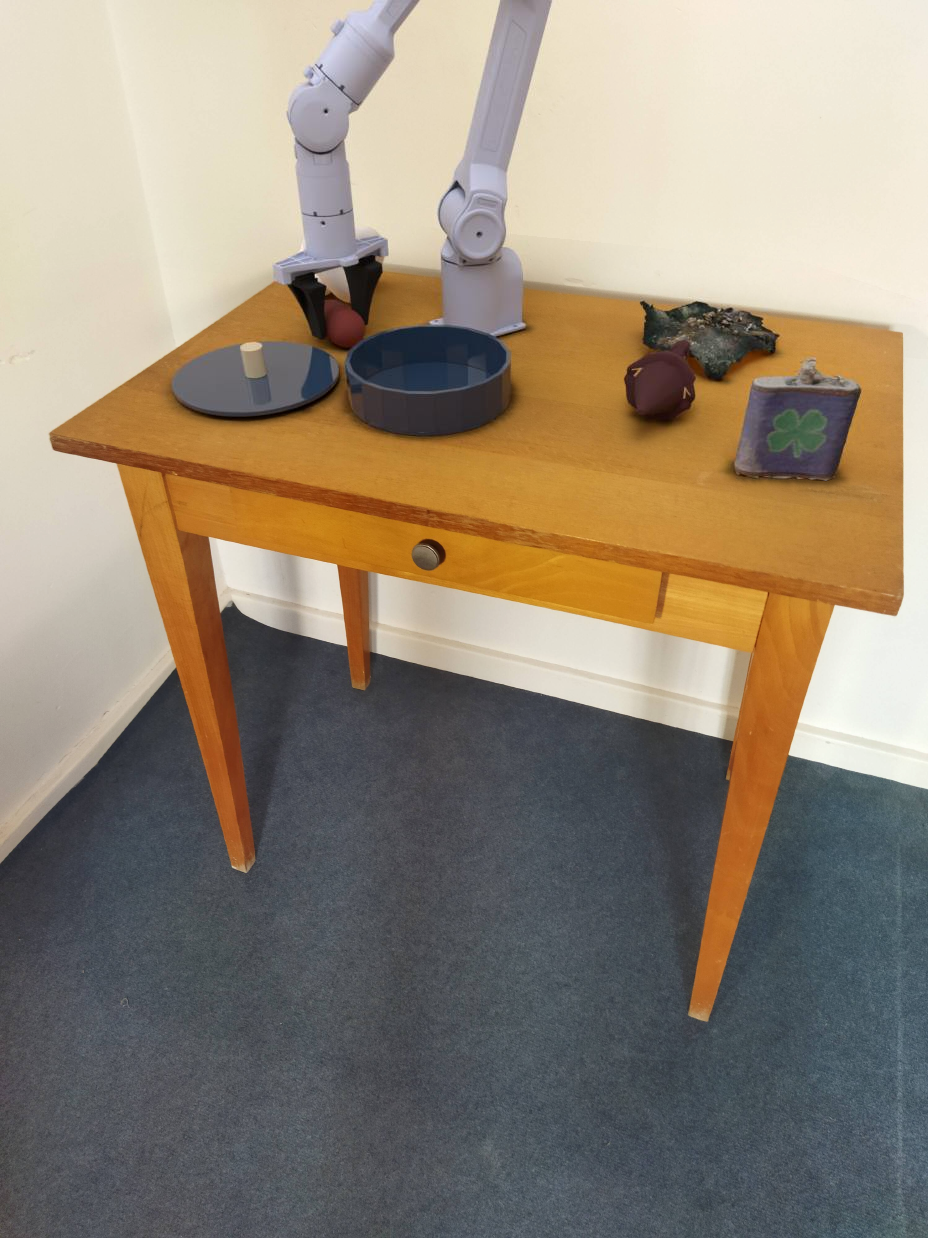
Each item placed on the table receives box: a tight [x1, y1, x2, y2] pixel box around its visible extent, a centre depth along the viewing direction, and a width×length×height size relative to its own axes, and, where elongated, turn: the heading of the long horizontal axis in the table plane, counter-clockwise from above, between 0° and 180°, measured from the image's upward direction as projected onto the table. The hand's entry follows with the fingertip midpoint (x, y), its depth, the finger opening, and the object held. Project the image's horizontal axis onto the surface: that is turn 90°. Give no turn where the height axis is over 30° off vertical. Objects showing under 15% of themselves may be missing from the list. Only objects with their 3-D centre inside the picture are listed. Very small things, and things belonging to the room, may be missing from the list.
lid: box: [171, 340, 340, 418], centre depth 97 cm, size 18×18×4 cm
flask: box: [733, 357, 862, 481], centre depth 78 cm, size 9×3×11 cm, turn 83°
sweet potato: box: [324, 299, 366, 349], centre depth 105 cm, size 4×8×4 cm, turn 33°
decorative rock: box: [639, 300, 780, 382], centre depth 102 cm, size 19×6×15 cm
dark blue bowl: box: [344, 324, 512, 437], centre depth 93 cm, size 17×17×5 cm
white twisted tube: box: [299, 225, 386, 304], centre depth 116 cm, size 11×12×9 cm
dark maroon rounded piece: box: [623, 340, 697, 422], centre depth 88 cm, size 7×7×15 cm
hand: (340, 329), depth 106 cm, fingers open, 5 cm apart
